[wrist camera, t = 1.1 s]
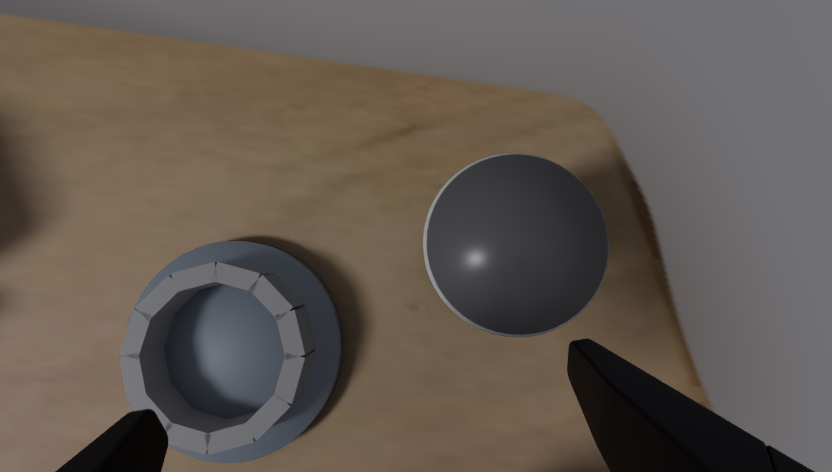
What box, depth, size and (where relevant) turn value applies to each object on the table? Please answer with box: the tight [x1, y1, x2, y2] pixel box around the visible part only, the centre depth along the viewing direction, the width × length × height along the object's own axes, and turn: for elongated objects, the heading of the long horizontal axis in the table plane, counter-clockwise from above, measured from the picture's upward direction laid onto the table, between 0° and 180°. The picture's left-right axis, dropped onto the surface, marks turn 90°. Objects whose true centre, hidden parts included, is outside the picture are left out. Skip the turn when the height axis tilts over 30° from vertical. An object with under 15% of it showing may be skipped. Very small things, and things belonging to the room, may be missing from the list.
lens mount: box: [119, 241, 342, 463], centre depth 22 cm, size 12×12×3 cm
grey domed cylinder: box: [423, 153, 609, 337], centre depth 18 cm, size 5×5×12 cm
